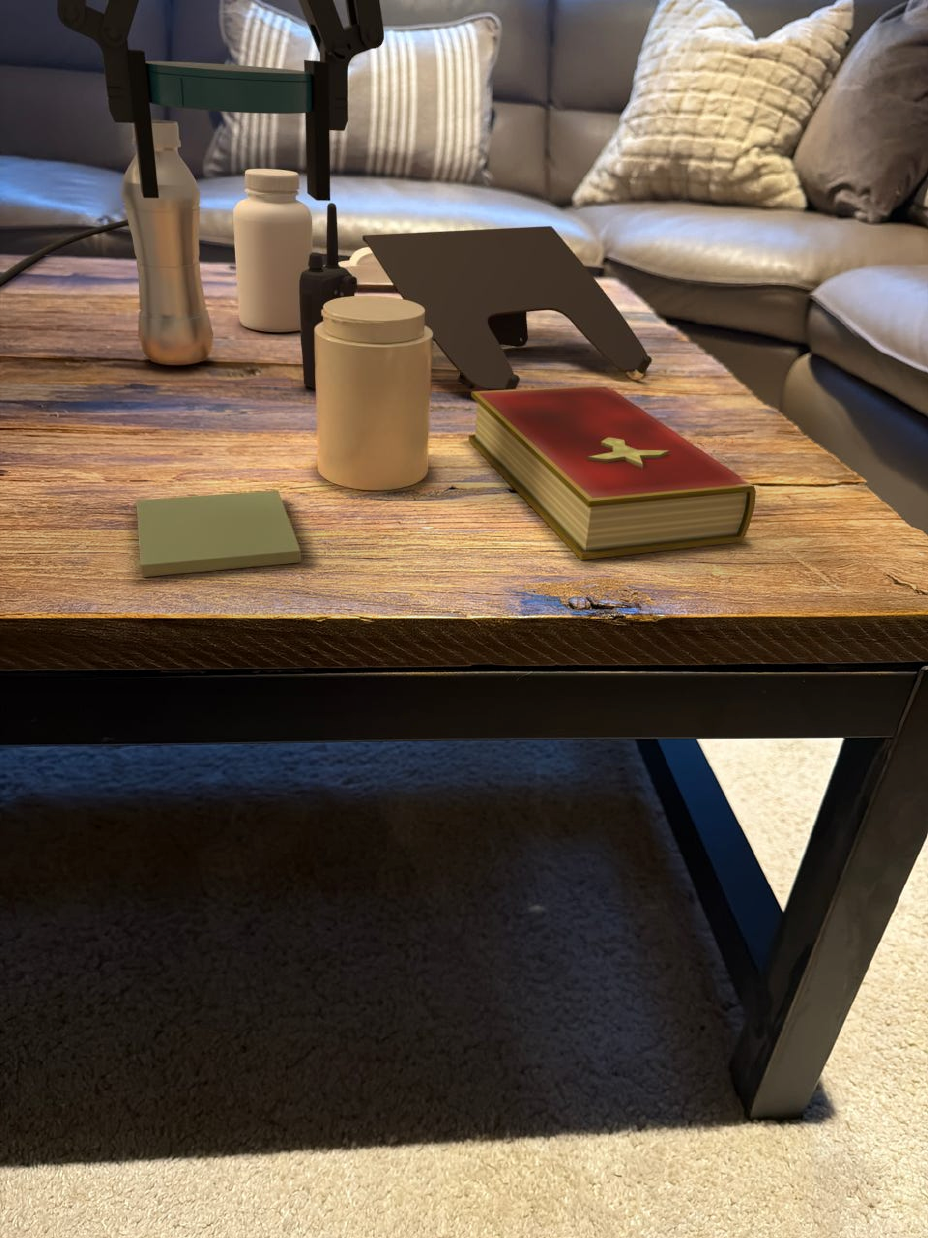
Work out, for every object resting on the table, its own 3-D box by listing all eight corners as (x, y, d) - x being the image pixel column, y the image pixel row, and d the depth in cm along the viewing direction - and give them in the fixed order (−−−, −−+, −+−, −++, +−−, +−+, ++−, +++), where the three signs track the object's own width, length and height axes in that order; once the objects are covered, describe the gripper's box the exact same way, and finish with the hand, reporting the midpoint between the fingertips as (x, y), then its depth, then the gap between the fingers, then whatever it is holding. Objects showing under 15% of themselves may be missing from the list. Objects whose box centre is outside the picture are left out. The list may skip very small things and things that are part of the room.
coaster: (137, 511, 61) (136, 500, 61) (278, 501, 64) (278, 489, 63) (142, 577, 54) (140, 565, 53) (301, 562, 56) (300, 550, 56)
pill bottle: (328, 322, 104) (326, 172, 96) (287, 338, 98) (281, 178, 90) (268, 311, 107) (261, 164, 99) (223, 326, 100) (212, 170, 93)
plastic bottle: (230, 362, 90) (213, 124, 79) (173, 378, 85) (148, 126, 74) (183, 348, 92) (161, 117, 82) (126, 363, 88) (95, 118, 77)
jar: (317, 448, 72) (314, 291, 66) (422, 448, 73) (428, 295, 67) (317, 490, 65) (313, 320, 60) (433, 490, 67) (440, 324, 61)
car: (409, 281, 124) (410, 243, 122) (421, 292, 119) (422, 253, 117) (317, 282, 121) (316, 243, 118) (326, 293, 116) (325, 253, 113)
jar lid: (256, 116, 45) (254, 73, 44) (111, 100, 47) (106, 59, 46) (340, 110, 51) (340, 73, 50) (210, 97, 54) (207, 61, 53)
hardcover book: (603, 430, 79) (610, 380, 77) (746, 541, 62) (760, 481, 60) (468, 439, 75) (471, 387, 73) (581, 559, 59) (589, 497, 57)
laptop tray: (451, 460, 87) (482, 385, 80) (346, 295, 96) (366, 214, 89) (637, 424, 99) (679, 356, 91) (528, 280, 108) (558, 207, 101)
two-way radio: (333, 373, 88) (331, 199, 81) (372, 383, 87) (373, 205, 79) (294, 387, 84) (288, 204, 77) (334, 398, 82) (331, 212, 75)
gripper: (418, -324, 46) (405, 189, 58) (-69, -416, 39) (28, 181, 51) (468, -375, 40) (443, 209, 52) (-97, -494, 33) (20, 203, 45)
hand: (236, 195), depth 51 cm, fingers closed on jar lid, 8 cm apart
